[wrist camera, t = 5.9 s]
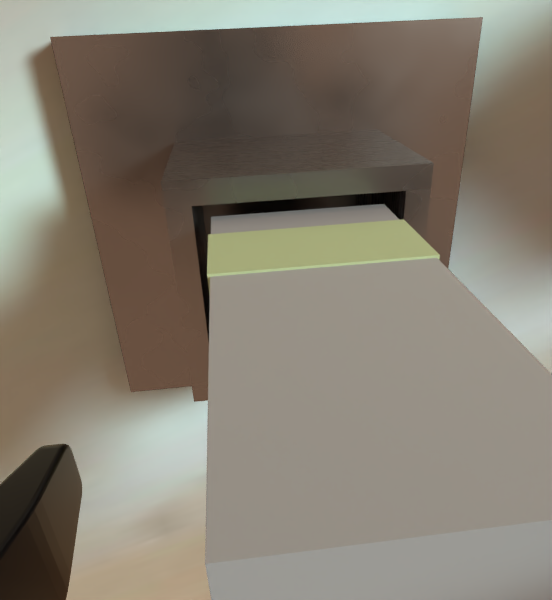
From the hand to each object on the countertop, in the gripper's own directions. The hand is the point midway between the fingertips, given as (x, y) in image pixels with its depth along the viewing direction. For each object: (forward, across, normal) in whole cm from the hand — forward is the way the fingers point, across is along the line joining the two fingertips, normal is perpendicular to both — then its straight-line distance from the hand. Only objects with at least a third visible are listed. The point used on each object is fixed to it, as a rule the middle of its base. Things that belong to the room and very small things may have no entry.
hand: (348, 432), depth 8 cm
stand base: (+10, 0, 0) cm, 10 cm away
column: (+5, 0, 0) cm, 5 cm away
